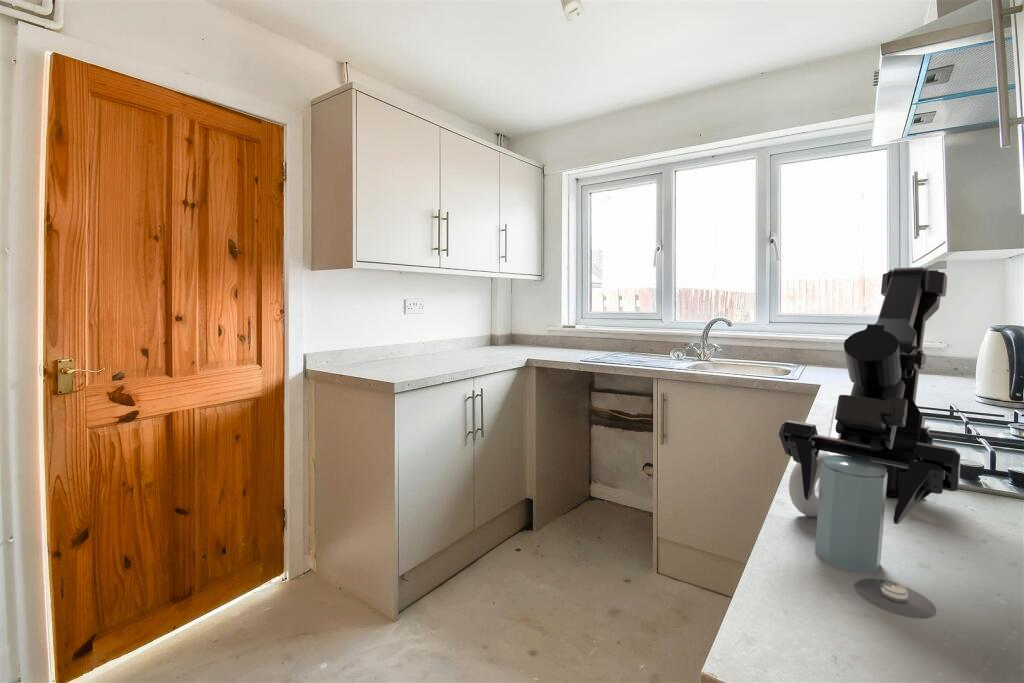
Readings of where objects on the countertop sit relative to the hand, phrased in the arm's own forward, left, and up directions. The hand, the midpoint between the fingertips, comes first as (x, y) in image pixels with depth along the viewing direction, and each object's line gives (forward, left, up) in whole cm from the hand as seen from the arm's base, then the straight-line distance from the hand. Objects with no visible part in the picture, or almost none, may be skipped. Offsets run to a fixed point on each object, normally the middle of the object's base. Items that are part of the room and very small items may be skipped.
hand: (848, 509), depth 59 cm
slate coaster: (+7, +1, -7) cm, 10 cm away
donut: (-14, +4, -7) cm, 16 cm away
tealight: (+7, +1, -7) cm, 10 cm away
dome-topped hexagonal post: (-1, +1, -7) cm, 7 cm away
